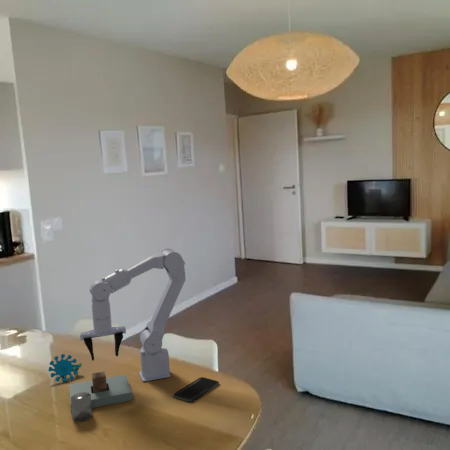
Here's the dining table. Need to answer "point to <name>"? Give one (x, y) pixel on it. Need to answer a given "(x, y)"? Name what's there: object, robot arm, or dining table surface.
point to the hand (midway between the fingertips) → (104, 357)
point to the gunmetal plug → (81, 406)
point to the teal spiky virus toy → (64, 367)
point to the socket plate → (115, 391)
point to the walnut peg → (99, 382)
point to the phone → (196, 389)
